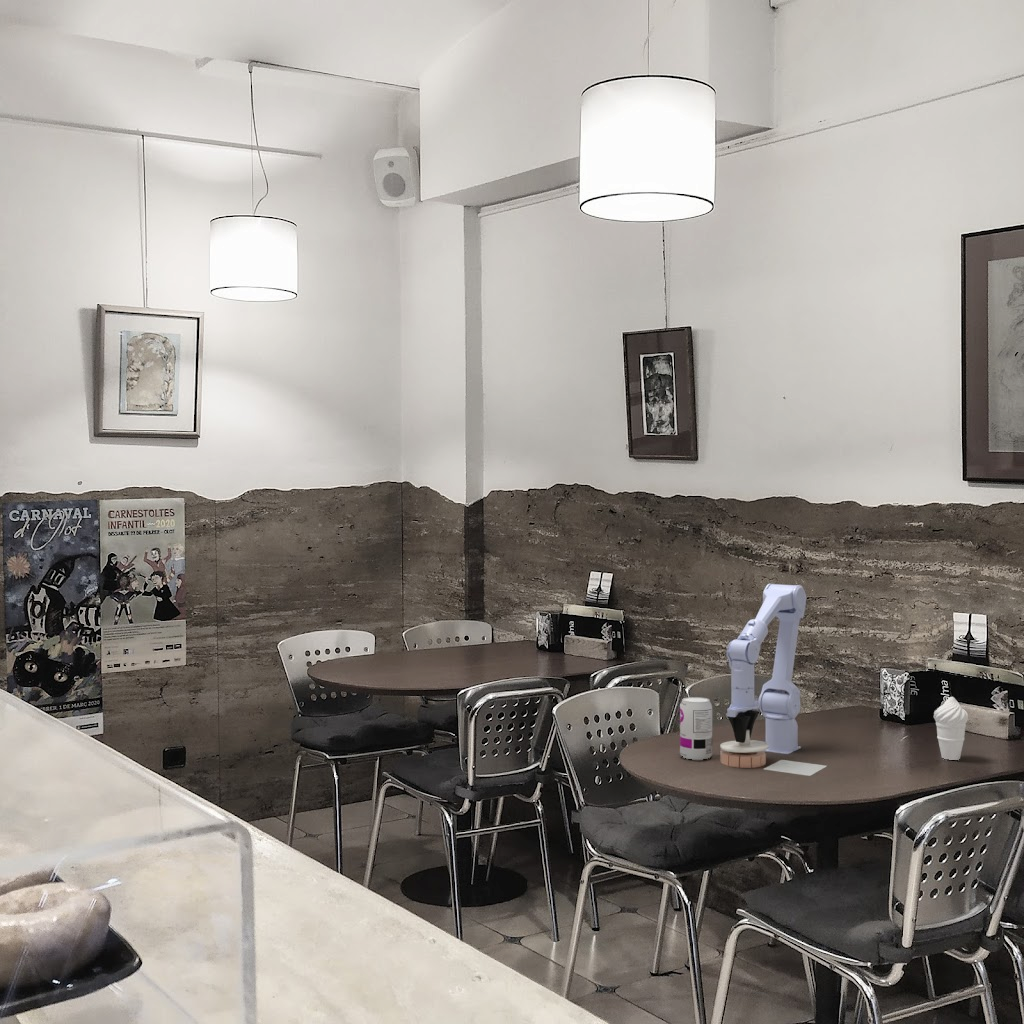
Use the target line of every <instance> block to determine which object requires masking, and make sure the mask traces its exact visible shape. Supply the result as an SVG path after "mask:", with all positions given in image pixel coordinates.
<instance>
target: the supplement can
mask: <svg viewBox="0 0 1024 1024" xmlns="http://www.w3.org/2000/svg"><path fill="white" fill-rule="evenodd" d="M679 755H680V756H681V757H682V756H683V757H682V758H683V759H685V758H686V759H685V760H688V759H692V760H691V761H704V760H703V759H707V760H709V759H710V758H711V757H712V756H713V705H712V702H711V701H710V699H709V698H706V697H699V696H698V697H695V696H694V697H693V696H692V697H691V696H689V697H684V698H682V699H681V702H680V704H679ZM708 758H709V759H708Z"/></svg>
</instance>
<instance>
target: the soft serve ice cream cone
mask: <svg viewBox="0 0 1024 1024" xmlns="http://www.w3.org/2000/svg"><path fill="white" fill-rule="evenodd" d="M933 719H934V721H935V725H936V734H937V736H936V739H937V741H938V745H939V750H940V754H941V759H942V758H944V759H949V760H958V761H960V760H961V755H962V751H963V746H964V742H965V733H966V727H967V722H968V720H969V714H968V711H966V710H965V709H964V708H963V707H962V706H961V704H960V703H959V702H958V700H957V699H956V698H955V697H954V696H950V697H948V698H947V699H946V700H945V701H944V703H943V704H941V705H940V706H939V707H937V708H936V709H935V710H934V712H933ZM944 759H943V760H944ZM959 759H960V760H959Z"/></svg>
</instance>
